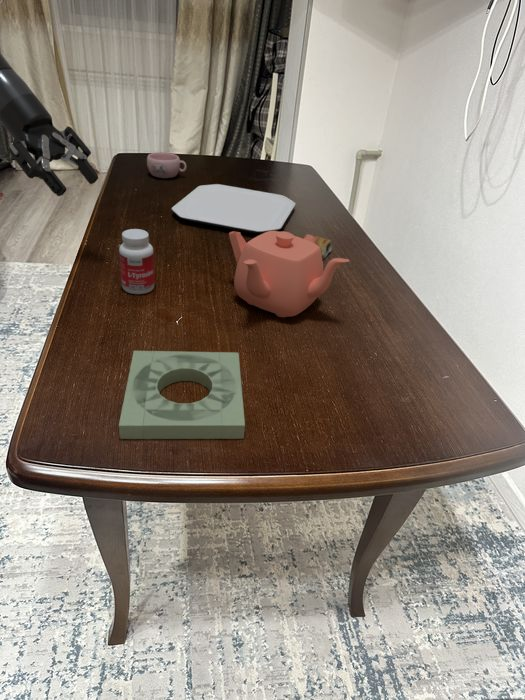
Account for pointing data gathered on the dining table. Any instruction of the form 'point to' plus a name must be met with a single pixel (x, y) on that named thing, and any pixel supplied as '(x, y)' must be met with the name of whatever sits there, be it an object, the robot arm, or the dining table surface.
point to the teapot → (281, 271)
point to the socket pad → (183, 418)
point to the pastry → (323, 245)
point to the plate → (235, 208)
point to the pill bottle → (136, 262)
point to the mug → (164, 164)
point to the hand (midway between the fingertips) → (79, 187)
